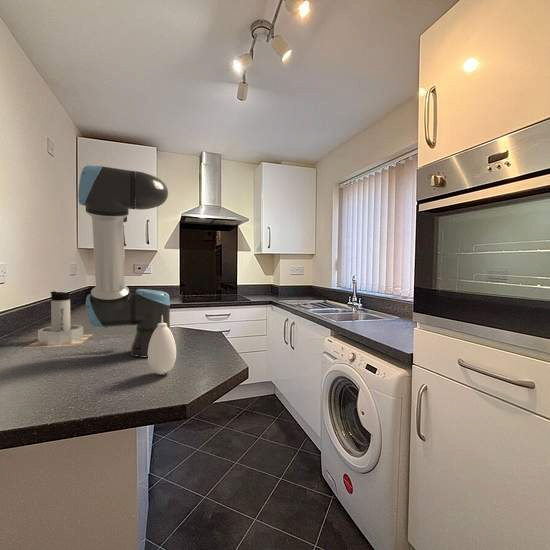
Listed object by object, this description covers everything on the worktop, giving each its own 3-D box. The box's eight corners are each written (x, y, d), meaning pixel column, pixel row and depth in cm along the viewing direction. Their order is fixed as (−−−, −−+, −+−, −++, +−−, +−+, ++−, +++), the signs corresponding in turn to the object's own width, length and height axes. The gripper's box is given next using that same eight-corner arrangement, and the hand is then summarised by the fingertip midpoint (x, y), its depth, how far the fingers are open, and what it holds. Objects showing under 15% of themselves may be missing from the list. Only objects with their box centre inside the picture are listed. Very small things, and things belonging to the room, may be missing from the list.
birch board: (78, 348, 114) (78, 344, 114) (23, 351, 109) (23, 348, 109) (93, 337, 131) (93, 334, 131) (45, 339, 126) (45, 336, 126)
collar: (75, 344, 115) (75, 331, 115) (31, 346, 111) (31, 333, 111) (87, 335, 129) (87, 324, 129) (48, 337, 125) (48, 325, 125)
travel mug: (57, 338, 123) (56, 290, 122) (73, 338, 123) (73, 291, 123) (46, 342, 117) (46, 292, 116) (64, 342, 117) (64, 292, 117)
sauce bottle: (159, 381, 83) (159, 317, 82) (142, 375, 87) (142, 315, 86) (181, 373, 89) (181, 314, 89) (164, 368, 93) (164, 311, 93)
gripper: (121, 207, 121) (121, 259, 122) (131, 217, 145) (131, 260, 146) (100, 206, 119) (100, 258, 120) (115, 216, 143) (115, 259, 144)
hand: (117, 259), depth 133 cm, fingers open, 13 cm apart
